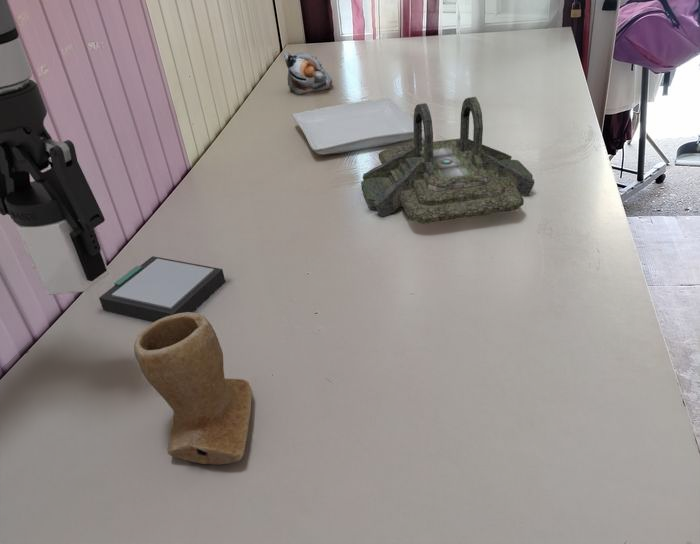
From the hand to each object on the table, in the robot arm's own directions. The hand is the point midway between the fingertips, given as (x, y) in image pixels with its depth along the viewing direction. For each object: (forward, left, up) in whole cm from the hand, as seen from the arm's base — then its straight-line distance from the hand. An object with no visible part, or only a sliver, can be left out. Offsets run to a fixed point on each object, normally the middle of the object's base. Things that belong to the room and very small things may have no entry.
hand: (72, 269), depth 82 cm
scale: (-5, +19, -17) cm, 26 cm away
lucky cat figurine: (-33, +128, -17) cm, 133 cm away
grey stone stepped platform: (+28, +70, -17) cm, 77 cm away
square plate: (-4, +96, -17) cm, 98 cm away
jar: (0, 0, -1) cm, 1 cm away
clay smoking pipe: (+20, -5, -17) cm, 27 cm away
